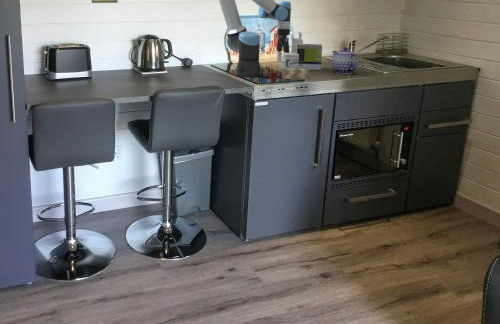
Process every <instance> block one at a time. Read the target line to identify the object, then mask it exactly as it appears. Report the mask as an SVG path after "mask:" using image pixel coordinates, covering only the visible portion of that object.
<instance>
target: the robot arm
mask: <svg viewBox="0 0 500 324" xmlns="http://www.w3.org/2000/svg"><path fill="white" fill-rule="evenodd" d="M218 1H219V4H220V8H221V12H222V14H223V18H224V21H225V24H226V27H227V31H226V35H227V38H226V44H227V46H228V48H229V49H230V50H231V51H232V52H235V53H238V62H237V64H236V68H235V71H234V73H235V74H234V75H235V76H238V77H244V78H257V77H261V76H262V75H263V70H262V67H261V63H260V46H261V45H260V44H261V37H260V35H259V33H257V32H253V31H248V30H247V27H246V26H245V25H243V22H242V20H241V16H240V13H239V9H238V6H237V3H236V0H218ZM251 1H252V2H253V3H255V4H256V6H258V17H259V18H260V19H270V20H275V21H277V26H276V27H277V29H276V34H277V43H276V51H277V52H276V63H282V57H283V53H290V51H289V38H288V36H289V35H290V32H291V29H290V28H291V24H292V22H291V14H292V13H291V12H292V3H291V1H286V0H282V1H281V0H280V1H278V2H277V1H275V0H251Z"/></svg>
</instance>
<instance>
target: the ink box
mask: <svg viewBox="0 0 500 324" xmlns="http://www.w3.org/2000/svg"><path fill="white" fill-rule="evenodd" d="M298 63H299V54H297V53H284V52H282V62H281V75H283V69H298Z"/></svg>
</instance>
